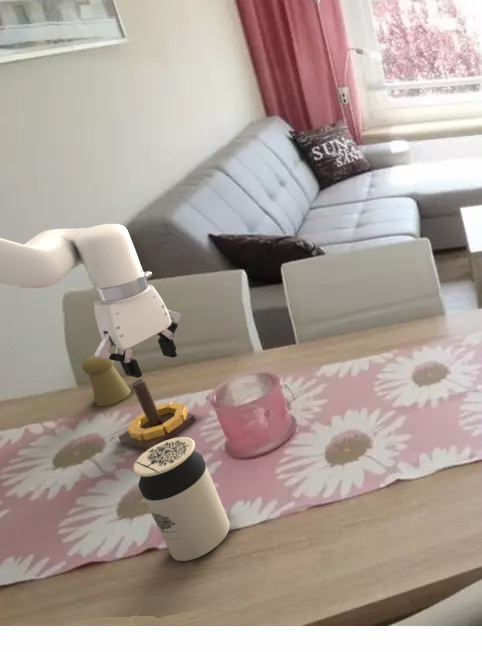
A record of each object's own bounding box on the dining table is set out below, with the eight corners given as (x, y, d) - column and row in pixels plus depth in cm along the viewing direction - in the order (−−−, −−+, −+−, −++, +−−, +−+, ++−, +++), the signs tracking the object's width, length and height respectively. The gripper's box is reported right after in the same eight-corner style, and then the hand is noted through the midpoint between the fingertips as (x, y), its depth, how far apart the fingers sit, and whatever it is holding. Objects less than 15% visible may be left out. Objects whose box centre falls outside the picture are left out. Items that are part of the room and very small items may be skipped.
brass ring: (152, 444, 105) (149, 437, 105) (120, 435, 108) (117, 429, 107) (197, 412, 114) (195, 406, 113) (166, 405, 116) (163, 399, 116)
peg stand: (152, 451, 106) (129, 400, 101) (121, 442, 108) (97, 392, 104) (196, 420, 113) (176, 372, 109) (166, 412, 116) (145, 365, 111)
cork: (98, 410, 118) (78, 368, 114) (94, 398, 122) (75, 358, 118) (132, 396, 122) (114, 355, 118) (128, 385, 126) (110, 345, 122)
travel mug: (215, 510, 92) (181, 428, 85) (240, 530, 88) (206, 446, 82) (162, 547, 86) (120, 462, 79) (186, 571, 82) (144, 484, 75)
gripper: (155, 266, 111) (182, 339, 118) (55, 307, 96) (92, 389, 102) (181, 270, 109) (207, 345, 115) (83, 313, 94) (119, 396, 100)
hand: (153, 364), depth 109 cm, fingers open, 6 cm apart
